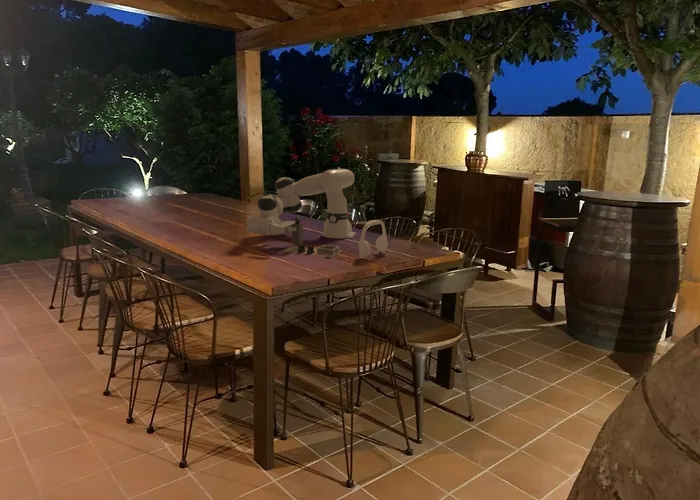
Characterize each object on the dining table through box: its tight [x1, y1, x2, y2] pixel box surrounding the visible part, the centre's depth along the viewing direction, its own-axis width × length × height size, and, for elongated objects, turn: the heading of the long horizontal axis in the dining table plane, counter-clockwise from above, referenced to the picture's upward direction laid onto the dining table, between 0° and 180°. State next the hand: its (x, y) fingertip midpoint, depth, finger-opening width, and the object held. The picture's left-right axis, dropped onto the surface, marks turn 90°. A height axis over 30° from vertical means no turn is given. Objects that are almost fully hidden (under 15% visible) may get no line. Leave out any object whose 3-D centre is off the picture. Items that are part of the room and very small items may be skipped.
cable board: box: [281, 243, 344, 259], centre depth 279 cm, size 16×27×5 cm, turn 69°
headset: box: [358, 219, 389, 259], centre depth 273 cm, size 20×7×18 cm, turn 143°
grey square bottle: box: [291, 216, 304, 245], centre depth 280 cm, size 4×4×13 cm
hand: (299, 228), depth 279 cm, fingers closed on grey square bottle, 4 cm apart
